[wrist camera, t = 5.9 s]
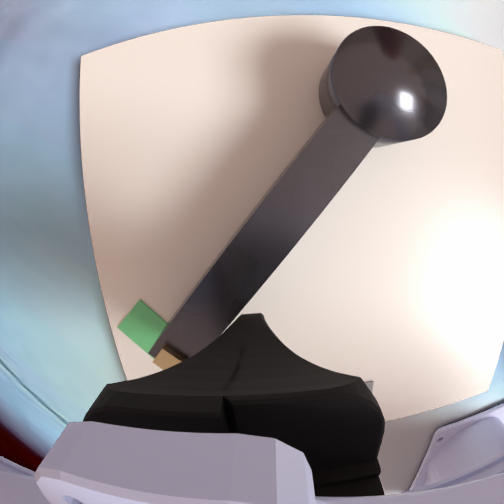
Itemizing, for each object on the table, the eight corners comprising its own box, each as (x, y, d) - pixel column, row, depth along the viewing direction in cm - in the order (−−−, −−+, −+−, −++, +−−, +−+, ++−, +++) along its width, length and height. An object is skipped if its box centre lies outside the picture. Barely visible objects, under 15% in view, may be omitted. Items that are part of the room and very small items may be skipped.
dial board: (480, 382, 15) (488, 391, 14) (152, 423, 16) (147, 435, 15) (491, 54, 10) (502, 49, 9) (91, 62, 11) (79, 55, 10)
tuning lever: (354, 37, 10) (375, 6, 7) (427, 100, 10) (463, 86, 8) (143, 308, 13) (117, 338, 10) (217, 360, 13) (208, 400, 11)
